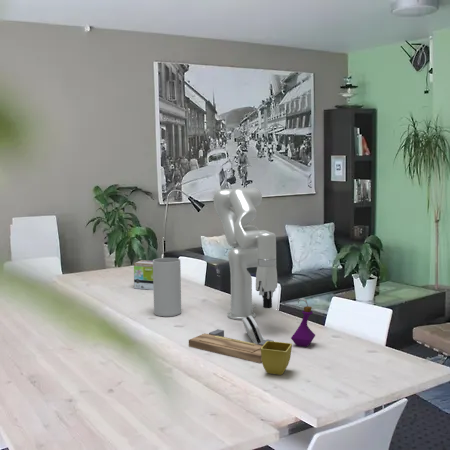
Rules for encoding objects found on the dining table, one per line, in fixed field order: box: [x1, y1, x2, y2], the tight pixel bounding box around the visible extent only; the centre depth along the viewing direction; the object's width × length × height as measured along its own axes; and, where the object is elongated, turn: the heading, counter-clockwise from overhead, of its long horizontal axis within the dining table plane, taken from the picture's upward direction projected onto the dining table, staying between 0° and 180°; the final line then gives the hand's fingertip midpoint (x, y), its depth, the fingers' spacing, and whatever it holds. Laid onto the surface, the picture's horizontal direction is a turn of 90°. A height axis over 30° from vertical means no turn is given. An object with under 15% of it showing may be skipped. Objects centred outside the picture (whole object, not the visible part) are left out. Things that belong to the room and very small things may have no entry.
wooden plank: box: [188, 333, 262, 364], centre depth 212 cm, size 10×32×3 cm, turn 54°
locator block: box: [208, 329, 225, 337], centre depth 226 cm, size 6×3×3 cm, turn 144°
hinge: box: [241, 316, 267, 345], centre depth 225 cm, size 17×5×10 cm, turn 9°
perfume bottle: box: [290, 297, 316, 348], centre depth 217 cm, size 8×8×18 cm
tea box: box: [133, 259, 154, 291], centre depth 317 cm, size 15×10×15 cm, turn 73°
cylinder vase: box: [152, 257, 182, 318], centre depth 263 cm, size 12×12×25 cm
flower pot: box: [261, 340, 293, 376], centre depth 190 cm, size 9×9×9 cm
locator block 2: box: [258, 339, 275, 346], centre depth 212 cm, size 6×3×3 cm, turn 144°
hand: (267, 307), depth 232 cm, fingers closed
